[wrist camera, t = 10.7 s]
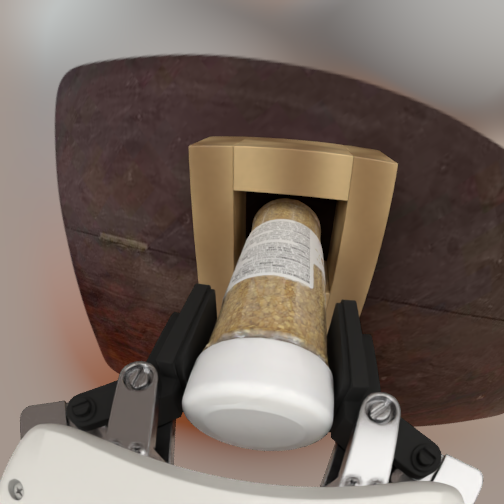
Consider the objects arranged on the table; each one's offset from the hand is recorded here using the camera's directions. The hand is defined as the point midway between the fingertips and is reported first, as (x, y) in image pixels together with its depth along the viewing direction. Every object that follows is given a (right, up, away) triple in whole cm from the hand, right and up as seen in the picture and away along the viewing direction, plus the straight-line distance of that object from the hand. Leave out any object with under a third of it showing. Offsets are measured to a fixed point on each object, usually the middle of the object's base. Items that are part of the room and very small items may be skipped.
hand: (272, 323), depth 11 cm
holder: (+2, +1, +11) cm, 11 cm away
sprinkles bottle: (+1, +4, +8) cm, 9 cm away
